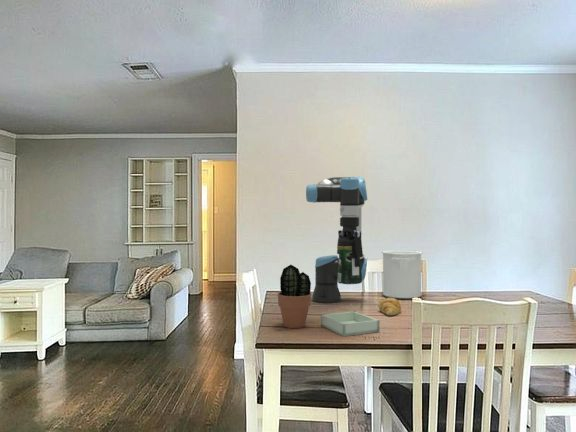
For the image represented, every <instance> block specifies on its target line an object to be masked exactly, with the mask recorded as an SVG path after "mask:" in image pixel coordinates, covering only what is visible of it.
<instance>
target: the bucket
mask: <svg viewBox="0 0 576 432" xmlns="http://www.w3.org/2000/svg"><path fill="white" fill-rule="evenodd" d="M381 254H382V268H383V269H382V294H383V296H384V297H385V298H390V297H391V298H395V299H397V300H401V301H403V300H406V301H407V300H410V301H411V300H413V299H412V298H414V297H418V299H419V298H421V296H422V254H423V252H422V251H416V250H401V249H400V250H397V249H395V250H393V249H392V250H383V251H381Z"/></svg>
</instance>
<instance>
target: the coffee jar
mask: <svg viewBox="0 0 576 432" xmlns="http://www.w3.org/2000/svg"><path fill="white" fill-rule="evenodd" d="M352 243H353V244H355V242H354V240H353V239H351V241H350V240H349V239H348V237H340V238H337V244H336V245H337V246H336V248H337V249H338V251H339V254H338V258H339V266H338V277H337V281H338V284H342V285H357V284H358V285H359V284H361V283H362V282H363V281H362V273H361V265H360V258H359V275H352V257H353V253H352Z"/></svg>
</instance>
